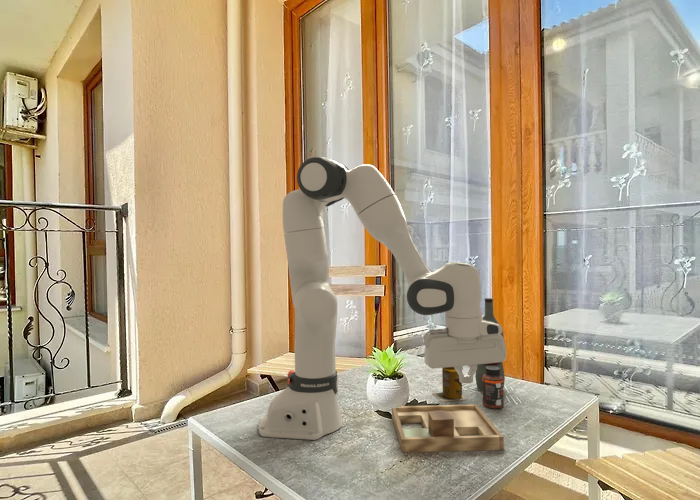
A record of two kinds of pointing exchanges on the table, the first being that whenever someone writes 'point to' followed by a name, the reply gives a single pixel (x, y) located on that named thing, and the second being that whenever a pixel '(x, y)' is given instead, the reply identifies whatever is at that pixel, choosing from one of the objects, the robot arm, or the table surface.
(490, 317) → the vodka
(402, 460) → the table surface
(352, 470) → the table surface
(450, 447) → the wooden compartment tray
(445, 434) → the walnut block
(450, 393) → the condiment
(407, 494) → the table surface
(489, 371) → the supplement bottle
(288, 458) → the table surface
